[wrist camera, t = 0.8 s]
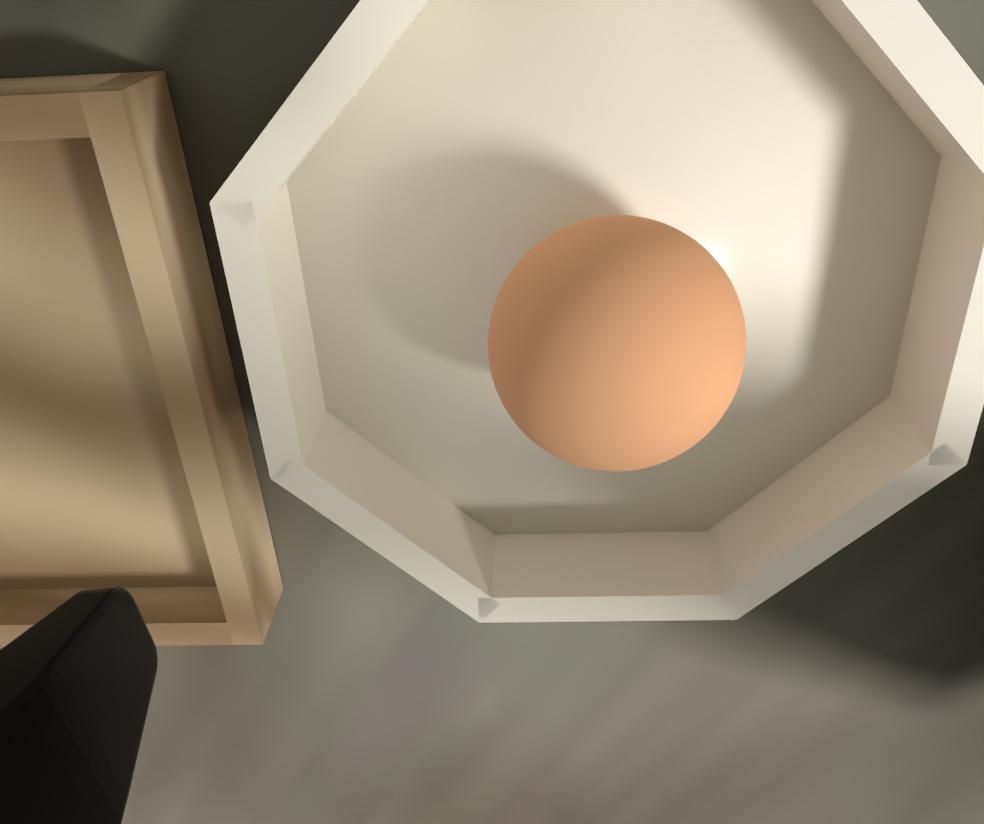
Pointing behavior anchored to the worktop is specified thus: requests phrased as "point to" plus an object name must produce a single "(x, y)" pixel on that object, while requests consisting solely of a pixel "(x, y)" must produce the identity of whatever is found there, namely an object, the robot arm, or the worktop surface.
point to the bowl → (602, 192)
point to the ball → (617, 343)
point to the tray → (118, 374)
